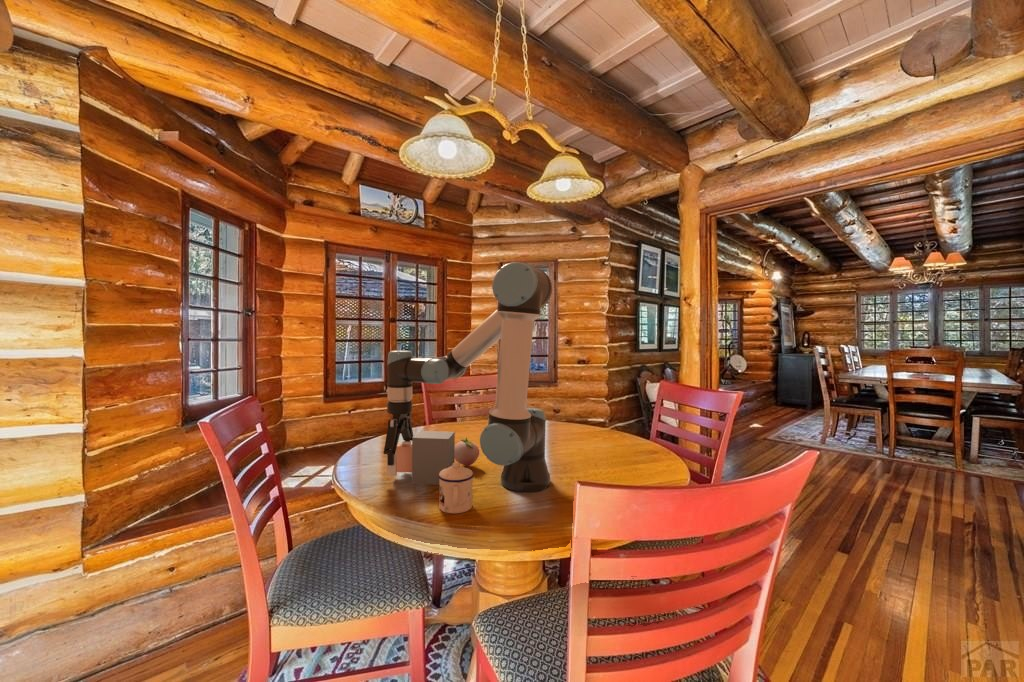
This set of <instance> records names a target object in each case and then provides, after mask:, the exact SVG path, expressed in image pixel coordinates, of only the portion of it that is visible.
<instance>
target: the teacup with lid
mask: <svg viewBox="0 0 1024 682" xmlns="http://www.w3.org/2000/svg"><path fill="white" fill-rule="evenodd" d="M473 477H474V472H473V471H472V470H471V469H470V468H468V467H465V466H464V465H461V464H460V463H459V462H457V461H454V463H453V464H452V466H451V467H449V468H446V469H444V470H442V471H441V472H440V473H439V485H438V486H439V492H438V493H439V496H438V497H439V500H438V501H439V502H438V505H439V506H438V507H439V510H441V512H443V513H446V514H463V513H465V512H469V510H471V508H472V507H473Z"/></svg>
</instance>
